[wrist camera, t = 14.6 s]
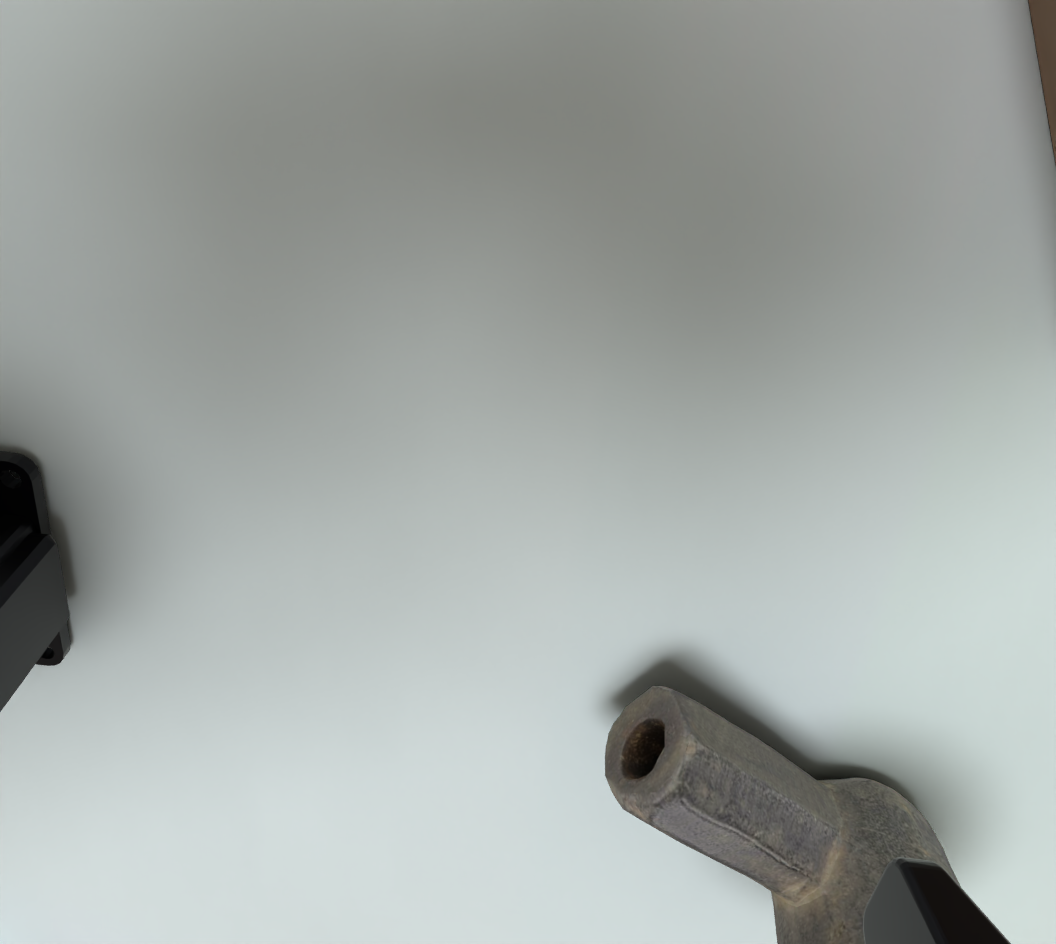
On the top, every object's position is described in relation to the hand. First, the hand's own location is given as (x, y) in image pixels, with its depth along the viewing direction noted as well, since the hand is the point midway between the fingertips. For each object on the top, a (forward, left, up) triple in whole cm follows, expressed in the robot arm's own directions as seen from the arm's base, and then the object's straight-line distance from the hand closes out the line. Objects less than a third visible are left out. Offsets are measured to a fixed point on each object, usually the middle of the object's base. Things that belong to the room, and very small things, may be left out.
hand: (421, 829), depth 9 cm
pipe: (+10, -13, -13) cm, 21 cm away
